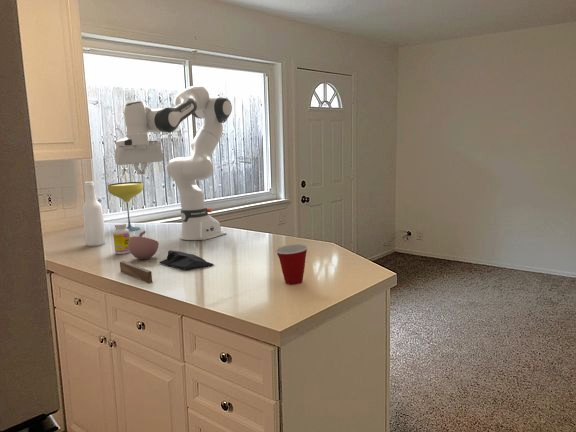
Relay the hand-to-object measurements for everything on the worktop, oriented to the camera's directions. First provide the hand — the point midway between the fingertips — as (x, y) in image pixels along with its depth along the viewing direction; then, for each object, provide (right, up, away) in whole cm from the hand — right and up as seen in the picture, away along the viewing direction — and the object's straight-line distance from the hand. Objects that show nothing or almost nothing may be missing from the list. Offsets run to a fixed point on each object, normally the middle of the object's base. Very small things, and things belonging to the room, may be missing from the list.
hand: (141, 174), depth 207 cm
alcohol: (-30, -31, +28) cm, 51 cm away
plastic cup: (+63, -40, -44) cm, 87 cm away
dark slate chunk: (+22, -37, -15) cm, 46 cm away
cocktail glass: (-24, -25, +61) cm, 70 cm away
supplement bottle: (-10, -34, +9) cm, 36 cm away
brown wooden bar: (+7, -40, -29) cm, 50 cm away
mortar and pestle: (+3, -35, -4) cm, 36 cm away
